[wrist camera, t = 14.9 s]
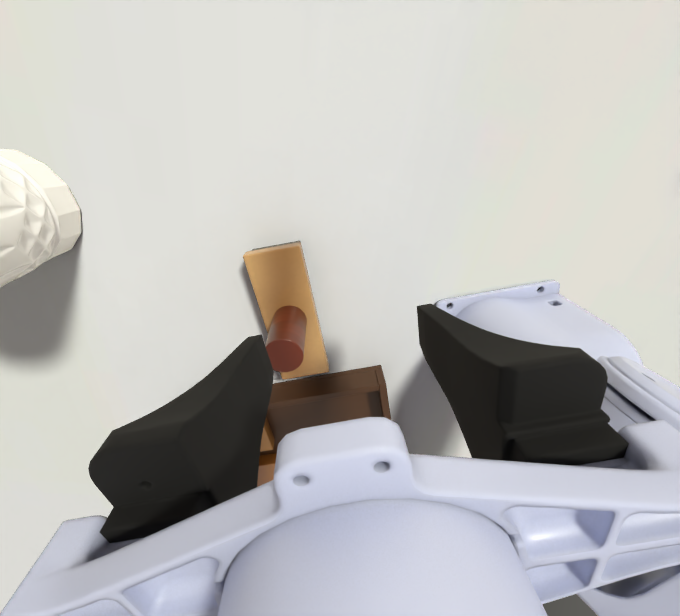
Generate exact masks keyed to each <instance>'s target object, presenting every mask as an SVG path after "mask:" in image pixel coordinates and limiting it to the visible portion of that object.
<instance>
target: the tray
mask: <svg viewBox="0 0 680 616" xmlns="http://www.w3.org/2000/svg"><path fill="white" fill-rule="evenodd" d="M365 417H385V418H387V419H389V420H391V416H390V409H389V402H388V395H387V388H386V382H385V379H384V375H383V371H382V368H381V365H378V366H372V367H367V368H361V369H355V370H349V371H344V372H338V373H332V374H326V375H320V376H315V377H309V378H303V379H297V380H292V381H286V382H280V383H274V384H273V385H272V392H271V397H270V401H269V406H268V410H267V415H266V418H267V420H268V423H269V425H270V428H271V431H272V433H273V436H274V439H275V441H274V447H273V450H268V451H262V452H260V456H261V455H267V454H274V453H277V447H278V444H279V442H280V441H281V440H282V439H283V438H284V436H285V435H286V434H289V433H291V432H294V431H296V430H299V429H302V428H308V427H313V426H319V425H325V424H331V423H336V422H342V421H348V420H354V419H359V418H365Z"/></svg>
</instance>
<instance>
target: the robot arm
mask: <svg viewBox="0 0 680 616" xmlns="http://www.w3.org/2000/svg"><path fill="white" fill-rule="evenodd" d="M539 287H541V288H540V290H539V291H537V290H538V288H539ZM559 288H560V284H559V282H557V281H555V280H549V281H543V282H538V283H532V284H527V285H521V286H515V287H510V288H504V289H499V290H493V291H488V292H482V293H476V294H471V295H465V296H460V297H454V298H449V299H443V300H440V301H438V302H437V303H436V306H434V305H432V304H426V305H421V306H417V313H418V327H419V341H420V346H421V348H422V351H423V354H424V356H425V359H426V361H427V363H428V365H429V367H430V369H431V370H432V372H433V374H434V376H435V377H436V379H437V381H438V383H439V385H440V386H441V388H442V390H443V392H444V393H445V395H446V397H447V399H448V401H449V403H450V405H451V407H452V409H453V411H454V414H455V416H456V419H457V421H458V423H459V426H460V428H461V431H462V433H463V436H464V438H465V441H466V443H467V446H468V448H469V451H470V453H471V456H472V458H463V457H449V456H435V455H422V454H409V452H408V449H407V446H406V442H405V439H404V435H403V433H402V431H401V429H400V427H399V425H398V423H395V422H393V421H391V420H389V419H387V418H385V417H365V418H359V419H354V420H348V421H342V422H336V423H331V424H325V425H319V426H313V427H308V428H302V429H299V430H296V431H294V432H291V433H289V434H286V435H285V436H284V438H283V439H282V440H281V441H280V442H279V444H278V447H277V455H276V462H275V469H274V480H272V481H270V482H267V483H265V484H263V485H261V486H258V487H257V482H258V470H259V458H260V448H261V439H262V433H263V428H264V424H265V419H266V415H267V410H268V406H269V401H270V397H271V392H272V385H273V367H272V364H271V361H270V358H269V356H268V353H267V350H266V347H265V344H264V341H263V338H262V335H257V336H251V337H248V338H247V339H245V340H244V341H243V342H242V343H241V344H240V345H239V346H238V347H237V348H236V349H235V350H234V351H233V352H232V353H231V354H230V355H229V356H228V357H227V358H226V359H225V360H224V361H223V362H222V363H221V364H220V365H219V366H217V367H216V368H215V369H214V370H213V371H212V372H211V373H210V374H209V375H207V376H206V377H205V378H204V379H203V380H201V381H200V382H199V383H197V384H196V385H195V386H193V387H192V388H191V389H189V390H188V391H186V392H185V393H183V394H182V395H180V396H179V397H177V398H176V399H174V400H172V401H171V402H169V403H168V404H166V405H164V406H162V407H161V408H159V409H157V410H155V411H153V412H152V413H150V414H148V415H146V416H144V417H142V418H140V419H138V420H136V421H133V422H131V423H129V424H127V425H125V426H122V427H120V428H118V429H116V430H113V431H112V432H111V433H110V435H109V436H108V438H107V439H106V440H105V442H104V443H103V444H102V446H101V447H100V449H99V450H98V451H97V453H96V454H95V456H94V457H93V458H92V460H91V461H90V464H89V468H88V469H89V474H90V477H91V479H92V481H93V482H94V484H95V485H96V486H97V487H98V489H99V490H100V491H101V492H102V493H103V495H104V496H105V497H106V498H107V499H108V500H109V502H110V503H111V504H112V505H113V506H114V508H113V509H112V511H111V513H110V515H109V516H108V518H107V517H104V516H89V517H83V518H77V519H72V520H67V521H64V522H63V523H62V524H61V526H60V527H59V528H58V530H57V531H56V533H55V534H54V536H53V537H52V539H51V540H50V542H49V543H48V545H47V546H46V547H45V549H44V550H43V552H42V553H41V555H40V556H39V558H38V559H37V561H36V562H35V563H34V565H33V566H32V568H31V569H30V571H29V572H28V574H27V575H26V577H25V578H24V580H23V581H22V582H21V584H20V585H19V587H18V588H17V590H16V591H15V593H14V594H13V596H12V597H11V599H10V600H9V601H8V603H7V604H6V606H5V607H4V609H3V610H2V612H1V613H0V616H547V614H546V612H545V610H544V608H543V606H542V604H544V603H548V602H550V601H554V600H557V599H561V598H564V597H567V596H570V595H574V594H577V595H578V596H579V597H580V598H581V599H582V600H583V601H584V602H585V603H586V604H587V605H588V606H589V607H590V608H591V609H592V610H593V611H594V612H595V613H596V614H597V615H598V616H680V387H679V386H677V385H676V384H674V383H672V382H671V381H669V380H667V379H665V378H664V377H662V376H660V375H659V374H657V373H655V372H653V371H651V370H650V369H648V368H646V367H644V365H643V362H642V360H641V357H640V356H639V354H638V352H637V350H636V349H635V347H634V346H633V345H632V343H631V342H630V341H629V340H628V339H627V337H626V336H625V335H623V334H622V333H621V332H620V331H619V330H617V329H616V328H614V327H613V326H611V325H610V324H608V323H606V322H605V321H603V320H601V319H600V318H598V317H596V316H595V315H593V314H592V313H590V312H588V311H587V310H585V309H583V308H582V307H580V306H578V305H577V304H575V303H574V302H572V301H570V300H569V299H567V298H565V297H564V296H562V295H560V294H559ZM449 303H451V305H450V306H449V307H446V306H447V304H449Z"/></svg>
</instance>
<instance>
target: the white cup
mask: <svg viewBox="0 0 680 616" xmlns="http://www.w3.org/2000/svg"><path fill="white" fill-rule="evenodd" d="M80 234H81V214H80V208H79V206H78V204H77V202H76V200H75V199H74V197H73V195H72V193H71V191H70V189H69V187H68V185H67V184H66V183H65V182H64V181H63V180H62V179H60V178H59V177H58V176H57V175H56V174H55V173H54V172H53V171H52V170H51V169H50V168H49V167H48V166H47V165H46V164H44V163H42V162H40V161H38V160H36V159H34V158H32V157H30V156H28V155H26V154H24V153H22V152H20V151H17V150H10V149H0V287H2V286H4V285H5V284H7V283H9V282H12V281H14V280H16V279H18V278H20V277H22V276H23V275H25V274H27V273H28V272H31V271H33V270H35V269H36V268H37V267H38V266H39V265H41V264H43V263H45V262H46V261H48V260H49V259H52V258H54V257H56V256H58V255H60V254H62V253H64V252H67V251H69V250H71V249H72V248H73V246H74V244H75V243H76V241H77V239H78V237H79V236H80Z"/></svg>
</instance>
